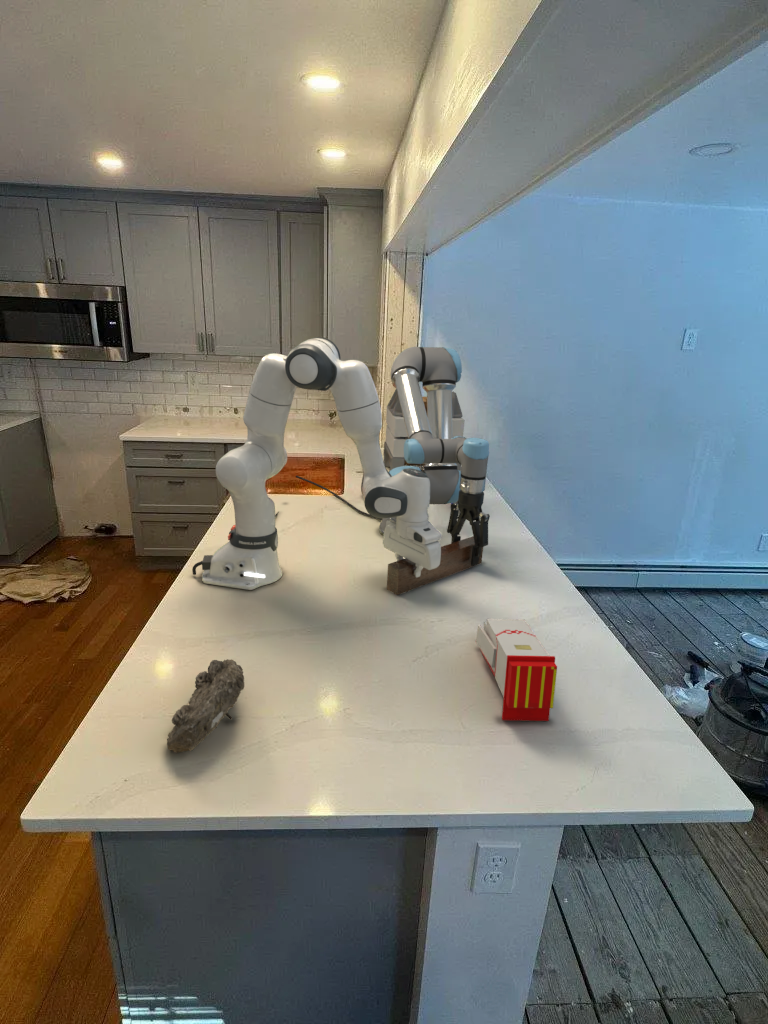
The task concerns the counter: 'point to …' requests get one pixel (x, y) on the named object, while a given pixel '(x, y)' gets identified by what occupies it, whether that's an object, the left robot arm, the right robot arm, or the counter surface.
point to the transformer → (398, 432)
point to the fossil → (206, 705)
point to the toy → (519, 668)
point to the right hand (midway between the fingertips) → (464, 560)
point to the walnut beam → (451, 562)
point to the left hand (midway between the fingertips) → (408, 572)
